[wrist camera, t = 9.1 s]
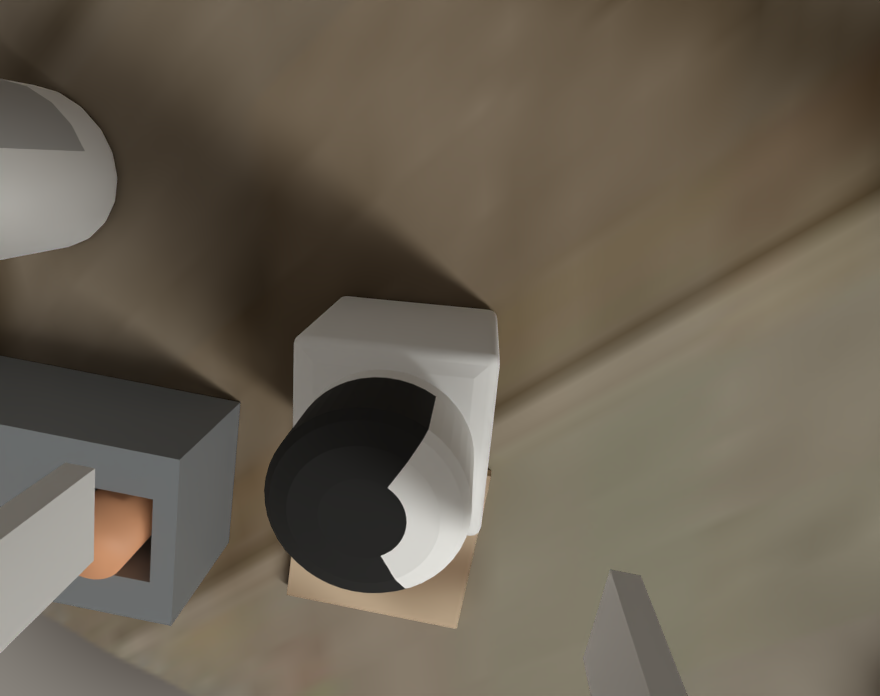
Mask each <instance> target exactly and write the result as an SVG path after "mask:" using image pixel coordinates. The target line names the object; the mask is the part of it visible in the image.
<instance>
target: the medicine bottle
mask: <svg viewBox="0 0 880 696" xmlns="http://www.w3.org/2000/svg"><path fill="white" fill-rule="evenodd" d="M499 367H500V358H499V342H498V326H497V316H496V314H495V312H494V311H491V310H487V309H476V308H466V307H455V306H445V305H434V304H424V303H413V302H403V301H392V300H382V299H372V298H361V297H351V296H344V297H341V298H340V299H339V300H338V301H337V302H336V303H334V304H333V305H332V306H331V307H330V308H329V309H328V310H327V311H325V312H324V313H323V314H322V315H321V316H320V317H319V318H318V319H316V320H315V321H314V322H313V323H312V324H311V325H310V326H308V327H307V328H306V329H305V330H304V331H303V332H302V333H301V334H299V335H298V336H297V337H296V338H295V341H294V367H293V428H292V430H291V431H290V432H289V434H288V435H287V436H286V438H285V439H284V440H283V442H282V443H281V445H280V446H279V447H278V449H277V450H276V452H275V454H274V456H273V458H272V460H271V462H270V464H269V468H268V471H267V475H266V480H265V489H264V493H265V506H266V511H267V516H268V518H269V521H270V524H271V527H272V529H273V531H274V533H275V535H276V537H277V539H278V540H279V542H280V543H281V545H282V546H283V547H284V549H285V550H286V551H287V552H288V554H289V555H290V556H291V557H292V558H293V559H294V560H295V561H296V562H297V563H298V564H299V565H300V566H302V567H303V568H304V569H305V570H306V571H308V572H309V573H311V574H312V575H314V576H315V577H317V578H318V579H320V580H322V581H324V582H326V583H328V584H331V585H333V586H336V587H339V588H342V589H346V590H350V591H354V592H362V593H386V592H394V591H399V590H403V589H407V588H411V587H413V586H416V585H418V584H421V583H423V582H425V581H427V580H428V579H430V578H432V577H434V576H435V575H436V574H438V573H439V572H440V571H442V570H443V569H444V568H445V567H446V566H447V565H448V564H449V563H450V562H451V561H452V560H453V559H454V557H455V556H456V554H457V553H458V552H459V550H460V549H461V547H462V545H463V543H464V541H465V539H466V536H467V535H468V536H472V535H476V534H477V533H478V532H479V530H480V528H481V523H482V514H483V506H484V497H485V488H486V479H487V471H488V462H489V453H490V445H491V436H492V427H493V419H494V410H495V401H496V393H497V384H498V375H499Z"/></svg>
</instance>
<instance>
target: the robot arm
mask: <svg viewBox="0 0 880 696" xmlns="http://www.w3.org/2000/svg"><path fill="white" fill-rule="evenodd" d="M94 508H95V468H91V467H86V466H81V465H75V464H70V463H64V464H63V465H61V466H60V467H58V468H57V469H55V470H54V471H52V472H51V473H50V474H48V475H47V476H45V477H44V478H42V479H41V480H39V481H38V482H36V483H35V484H34V485H32V486H31V487H29V488H28V489H26V490H25V491H23V492H22V493H20V494H19V495H18V496H16V497H15V498H13V499H12V500H10V501H9V502H7V503H6V504H4V505H3V506H2V507H0V653H1V652H2V651H3V650H4V649H5V648H6V647H7V646H8V645H9V644H10V643H11V642H12V641H13V640H14V639H15V638H16V637H17V636H18V635H19V634H20V633H21V632H22V631H23V630H24V629H25V628H26V627H27V626H28V625H29V624H30V623H31V622H32V621H33V620H34V619H35V618H36V617H37V616H38V615H39V614H40V613H41V612H42V611H43V610H44V609H45V608H46V607H47V606H48V605H50V604H51V603H52V602H53V601H54V600H55V599H56V598H57V597H58V596H59V595H60V594H61V593H62V592H63V591H64V590H65V589H66V588H67V587H68V586H69V585H70V584H71V583H72V582H73V581H74V580H75V579H76V578H77V577H78V576H79V575H80V574H81V573H82V572H83V571H84V570H85V569H86V568H87V567H88V566H89V565H90V564H91V563H92V562H93V561H94ZM583 660H584V665H585V670H586V674H587V679H588V684H589V689H590V694H591V696H688V695H687V693H686V690H685V688H684V685H683V682H682V680H681V677H680V675H679V672H678V670H677V667H676V665H675V662H674V659H673V657H672V654H671V652H670V649H669V647H668V644H667V642H666V639H665V636H664V634H663V631H662V629H661V626H660V624H659V621H658V619H657V616H656V613H655V611H654V608H653V606H652V603H651V601H650V598H649V596H648V593H647V590H646V588H645V585H644V583H643V580H642V578H641V575H636V574H631V573H626V572H621V571H616V570H610V571H609V575H608V578H607V581H606V585H605V588H604V591H603V594H602V598H601V601H600V604H599V608H598V611H597V614H596V618H595V621H594V624H593V627H592V631H591V634H590V637H589V641H588V644H587V647H586V651H585V654H584V657H583Z"/></svg>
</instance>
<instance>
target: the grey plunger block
mask: <svg viewBox="0 0 880 696" xmlns="http://www.w3.org/2000/svg"><path fill="white" fill-rule="evenodd" d="M239 413H240V402H236V401H231V400H226V399H221V398H216V397H210V396H205V395H200V394H195V393H190V392H185V391H180V390H175V389H169V388H164V387H159V386H154V385H149V384H144V383H139V382H133V381H128V380H123V379H118V378H113V377H108V376H103V375H98V374H92V373H87V372H82V371H77V370H72V369H67V368H62V367H57V366H51V365H46V364H41V363H36V362H31V361H26V360H21V359H16V358H10V357H5V356H0V507H2V506H3V505H4V504H6V503H7V502H9V501H10V500H12V499H13V498H15V497H16V496H18V495H19V494H20V493H22V492H23V491H25V490H26V489H28V488H29V487H31V486H32V485H34V484H35V483H36V482H38V481H39V480H41V479H42V478H44V477H45V476H47V475H48V474H50V473H51V472H52V471H54V470H55V469H57V468H58V467H60V466H61V465H63V464H64V463H70V464H75V465H81V466H86V467H91V468H95V491H96V490H97V489H103V490H108V491H113V492H118V493H123V494H128V495H133V496H138V497H143V498H148V499H153V512H152V535H151V536H150V537H149V538H148V540H147V541H146V542H145V543H144V544H143V545H142V546H141V547H140V548H139V549H138V550H137V552H136V553H135V554H134V555H133V556H132V557H131V558H130V559H129V560H128V561H127V562H126V564H125V565H124V566H123V567H122V568H121V569H120V570H119V571H118V572H117V573H116V574H115V575H113V576H111V577H108V578H105V579H88V578H84V577H81V576H78V577H77V578H76V579H75V580H74V581H73V582H72V583H71V584H70V585H69V586H68V587H67V588H66V589H65V590H64V591H63V592H62V593H61V594H60V595H59V596H58V597H57V598H56V599H55V600H54V601H53V602H57V603H62V604H67V605H72V606H76V607H81V608H86V609H91V610H96V611H101V612H106V613H111V614H116V615H121V616H126V617H130V618H135V619H140V620H145V621H150V622H155V623H160V624H165V625H170V626H171V625H172V624H173V622H174V621H175V619H176V618H177V616H178V615H179V614H180V612H181V611H182V609H183V608H184V606H185V605H186V603H187V602H188V601H189V599H190V598H191V596H192V595H193V593H194V592H195V590H196V589H197V587H198V586H199V585H200V583H201V582H202V580H203V579H204V577H205V576H206V574H207V573H208V572H209V570H210V569H211V567H212V566H213V564H214V563H215V561H216V560H217V559H218V557H219V556H220V554H221V553H222V551H223V550H224V548H225V547H226V546H227V544H228V543H229V533H230V521H231V509H232V497H233V485H234V473H235V461H236V449H237V437H238V425H239Z"/></svg>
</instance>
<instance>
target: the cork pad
mask: <svg viewBox="0 0 880 696" xmlns="http://www.w3.org/2000/svg"><path fill="white" fill-rule="evenodd" d="M490 479H491V470H488V471H487V479H486V488H485V497H484V505H485V501H486V497H487V492H488V488H489V483H490ZM483 510H484V506H483ZM477 536H478V533H477V534H476V535H472V536H468V535H467V536H466V539H465V541H464V543H463V545H462V547H461V549H460V550H459V552H458V553H457V554H456V556H455V557H454V559H453V560H452V561H451V562H450V563H449V564H448V565H447V566H446V567H445V568H444V569H443V570H442V571H440V572H439V573H438V574H436V575H435V576H434V577H432V578H430V579H428V580H427V581H425V582H423V583H421V584H418V585H416V586H413V587H411V588H407V589H403V590H399V591H394V592H386V593H362V592H354V591H350V590H346V589H342V588H339V587H336V586H333V585H331V584H328V583H326V582H324V581H322V580H320V579H318V578H317V577H315V576H314V575H312V574H311V573H309V572H308V571H306V570H305V569H304V568H303V567H302V566H300V565H299V564H298V563H297V562H296V561H295V560H294V559H293V558H292V557H291V564H290V572H289V580H288V589H287V595H291V596H295V597H300V598H305V599H310V600H315V601H320V602H325V603H330V604H335V605H340V606H345V607H350V608H355V609H360V610H365V611H370V612H375V613H380V614H385V615H390V616H395V617H400V618H405V619H410V620H415V621H419V622H424V623H429V624H434V625H439V626H444V627H449V628H454V629H457V625H458V620H459V616H460V611H461V607H462V603H463V598H464V594H465V589H466V585H467V581H468V576H469V572H470V567H471V563H472V558H473V554H474V550H475V545H476V541H477Z"/></svg>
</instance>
